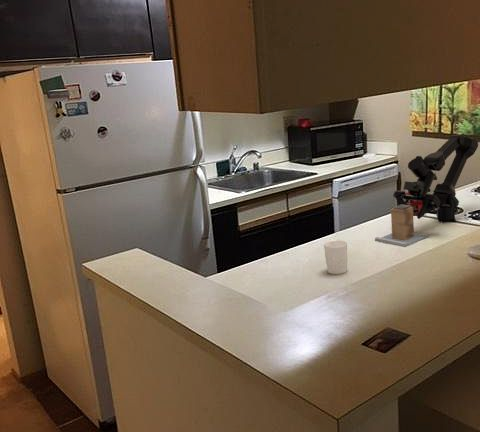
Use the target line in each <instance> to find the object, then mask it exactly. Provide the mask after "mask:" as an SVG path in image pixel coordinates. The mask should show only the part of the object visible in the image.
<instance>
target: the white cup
mask: <svg viewBox="0 0 480 432" xmlns="http://www.w3.org/2000/svg"><path fill="white" fill-rule="evenodd" d="M323 250H324V257H325V264H326V268H327V269H326V270H327V273H329V274H331V275H342V274H345V273H346V272H348V243H347V241H345V240H342V239H341V240H339V239H333V240H328V241H326V242H324V243H323Z"/></svg>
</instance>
